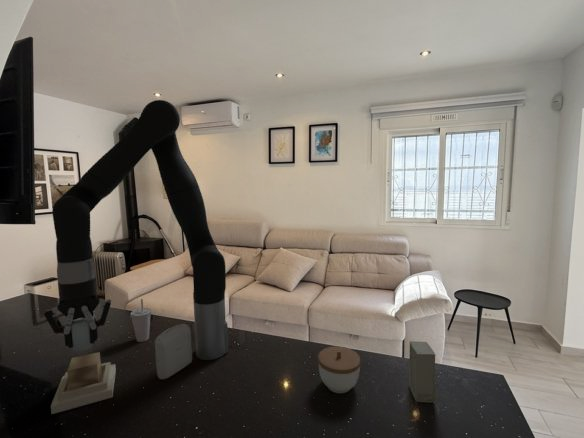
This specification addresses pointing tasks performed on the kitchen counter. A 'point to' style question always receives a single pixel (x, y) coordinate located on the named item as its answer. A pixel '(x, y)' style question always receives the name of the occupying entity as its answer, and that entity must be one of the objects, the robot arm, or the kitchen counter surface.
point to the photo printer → (173, 350)
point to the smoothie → (141, 322)
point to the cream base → (84, 391)
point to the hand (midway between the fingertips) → (82, 343)
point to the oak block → (84, 371)
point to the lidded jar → (339, 368)
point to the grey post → (80, 335)
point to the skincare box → (422, 371)
